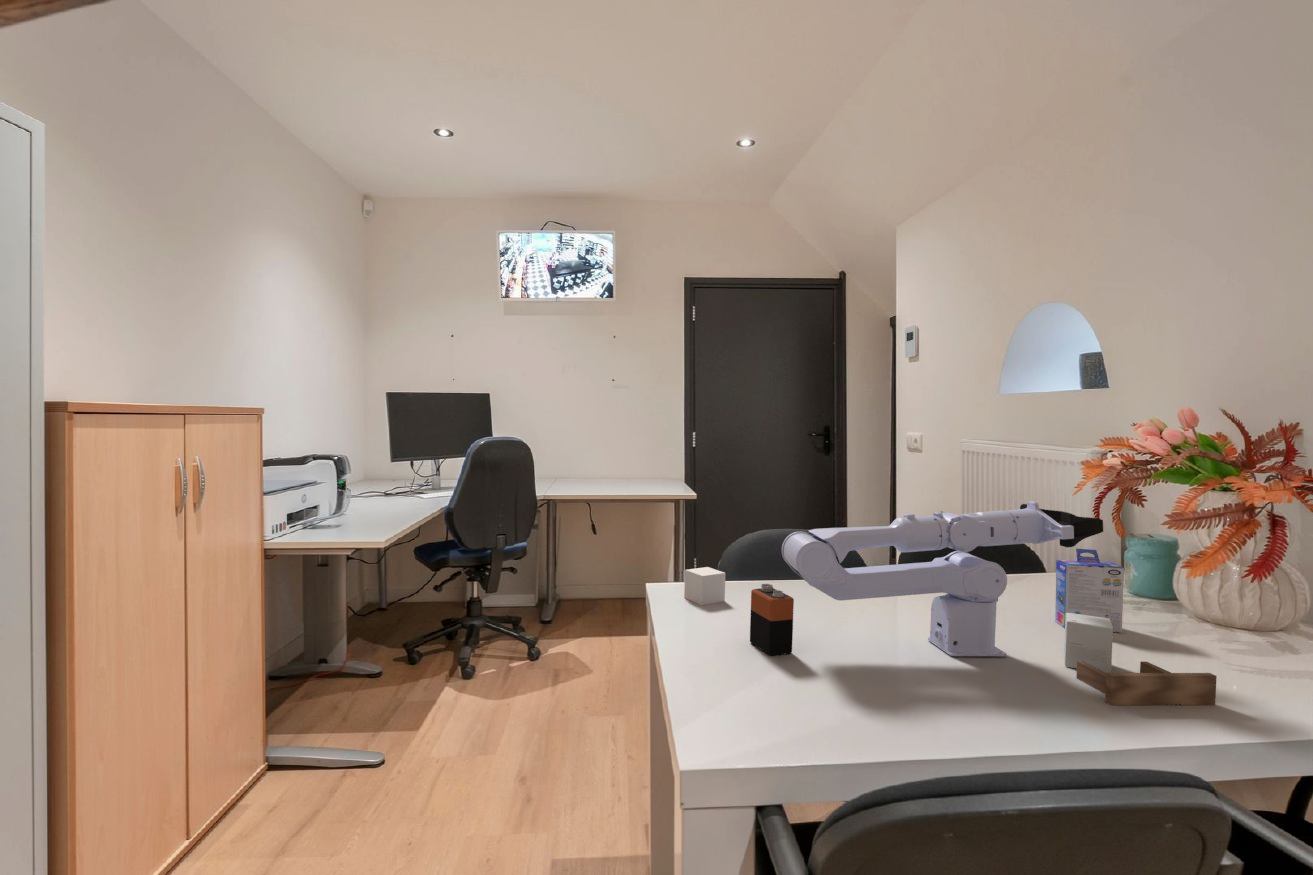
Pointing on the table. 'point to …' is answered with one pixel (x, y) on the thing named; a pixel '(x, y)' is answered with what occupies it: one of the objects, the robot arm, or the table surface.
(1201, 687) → the walnut holder
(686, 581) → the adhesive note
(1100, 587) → the ink cartridge box
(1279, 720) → the table surface
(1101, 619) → the product box
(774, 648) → the battery
